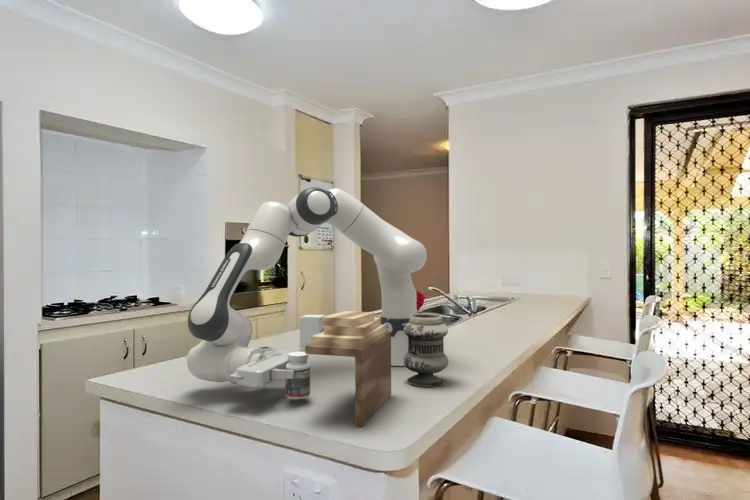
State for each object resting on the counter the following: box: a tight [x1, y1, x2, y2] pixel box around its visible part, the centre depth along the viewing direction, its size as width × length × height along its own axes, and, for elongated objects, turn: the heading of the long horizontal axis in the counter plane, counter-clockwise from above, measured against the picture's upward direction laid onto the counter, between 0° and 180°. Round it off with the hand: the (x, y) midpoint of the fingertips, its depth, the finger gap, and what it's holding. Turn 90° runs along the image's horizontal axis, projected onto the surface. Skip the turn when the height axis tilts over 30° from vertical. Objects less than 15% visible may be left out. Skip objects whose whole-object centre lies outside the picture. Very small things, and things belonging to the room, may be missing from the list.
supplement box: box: [299, 314, 326, 352], centre depth 167 cm, size 7×7×13 cm
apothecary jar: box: [403, 312, 449, 388], centre depth 129 cm, size 12×12×18 cm
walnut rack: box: [305, 331, 392, 428], centre depth 108 cm, size 12×22×16 cm, turn 163°
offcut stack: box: [311, 310, 386, 348], centre depth 108 cm, size 11×19×5 cm, turn 163°
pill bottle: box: [285, 351, 311, 400], centre depth 112 cm, size 6×6×10 cm
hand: (301, 370), depth 112 cm, fingers closed on pill bottle, 6 cm apart
